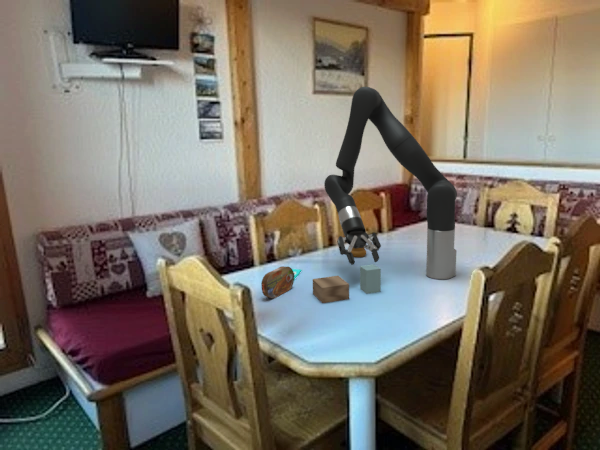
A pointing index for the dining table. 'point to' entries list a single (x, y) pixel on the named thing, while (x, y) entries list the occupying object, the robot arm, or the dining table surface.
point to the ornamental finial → (358, 252)
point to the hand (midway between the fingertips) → (365, 262)
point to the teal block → (370, 279)
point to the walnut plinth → (330, 289)
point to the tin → (277, 282)
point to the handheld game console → (296, 272)
